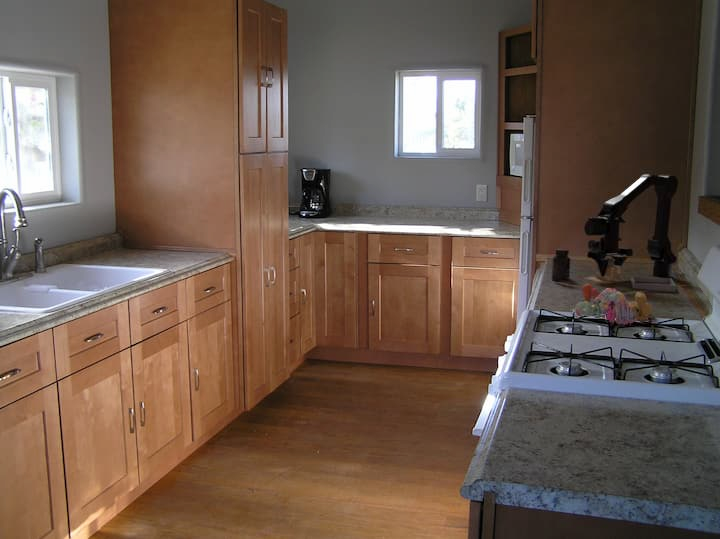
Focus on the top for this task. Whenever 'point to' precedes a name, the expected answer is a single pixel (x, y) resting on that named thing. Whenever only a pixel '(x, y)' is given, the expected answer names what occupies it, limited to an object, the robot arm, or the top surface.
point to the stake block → (610, 264)
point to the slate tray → (653, 286)
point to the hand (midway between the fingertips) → (608, 275)
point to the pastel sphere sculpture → (613, 306)
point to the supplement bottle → (561, 265)
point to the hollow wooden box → (611, 273)
